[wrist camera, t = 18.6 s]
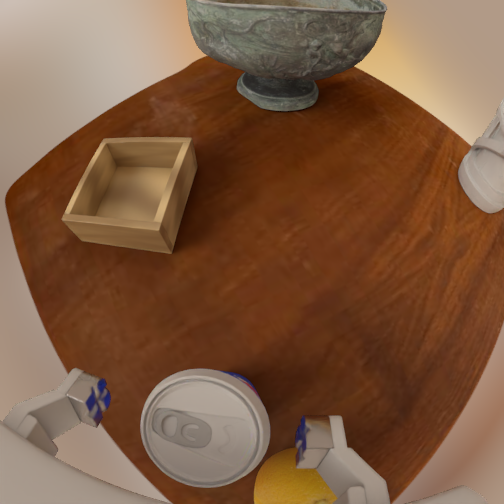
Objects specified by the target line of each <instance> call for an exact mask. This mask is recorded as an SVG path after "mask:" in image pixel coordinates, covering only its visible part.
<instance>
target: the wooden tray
mask: <svg viewBox="0 0 504 504" xmlns="http://www.w3.org/2000/svg"><path fill="white" fill-rule="evenodd" d="M197 167H198V165H197V161H196V156H195V151H194V146H193V141H192V138H179V137H134V138H108V139H103V141H102V142H101V144H100V146H99V148H98V149H97V151H96V153H95V155H94V156H93V158H92V160H91V162H90V163H89V165H88V167H87V169H86V171H85V173H84V174H83V176H82V178H81V180H80V182H79V184H78V186H77V188H76V190H75V192H74V194H73V196H72V198H71V200H70V202H69V205H68V207H67V209H66V211H65V214H64V215H63V218H62V221H63V222H64V223H65V224H66V225H67V226H68V227H69V228H70V229H71V230H72V231H73V232H74V233H75V234H76V235H77V236H78V237H79V238H80V239H81V240H82V241H86V242H93V243H99V244H106V245H113V246H120V247H127V248H134V249H141V250H148V251H155V252H162V253H170V254H172V251H173V248H174V244H175V240H176V236H177V233H178V229H179V226H180V222H181V219H182V215H183V212H184V209H185V205H186V202H187V199H188V195H189V192H190V189H191V186H192V183H193V180H194V176H195V173H196V170H197Z"/></svg>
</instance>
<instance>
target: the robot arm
mask: <svg viewBox="0 0 504 504" xmlns="http://www.w3.org/2000/svg"><path fill="white" fill-rule="evenodd" d="M106 385H107V383H106V381H105V379H103V378H101V377H98V376H95V375H93V374H90V373H87V372H85V371H82V370H80V369H77V368H74V369H72V371H71V372H70V373H69V374H68V376H67V377H66V378H65V379H64V381H63V382H62V384H61V385H60V386H59V387H58V389H57V390H51V391H49V392H47V393H44V394H41V395H39V396H36V397H34V398H31V399H28V400H26V401H23V402H21V403H18V404H16V405H15V406H14V407H13V408H12V410H11V411H10V412H9V414H8V415H7V416H6V418H5V419H4V420H3V421H0V504H171V503H167V502H163V501H160V500H156V499H153V498H149V497H146V496H143V495H140V494H137V493H134V492H131V491H128V490H125V489H122V488H120V487H118V486H114V485H112V484H110V483H107V482H105V481H103V480H100V479H98V478H96V477H93V476H91V475H89V474H87V473H85V472H83V471H81V470H79V469H76V468H75V467H73V466H71V465H69V464H67V463H65V462H63V461H61V460H59V459H58V458H56V457H55V455H56V453H57V452H58V448H57V446H56V445H55V444H54V442H53V441H52V440H53V439H55V438H56V437H58V436H60V435H61V434H63V433H65V432H66V431H68V430H70V429H71V428H73V427H75V426H76V425H78V424H80V423H81V422H83V423H86V424H88V425H91V426H93V427H96V428H97V426H98V425H99V423H100V421H101V420H102V418H103V416H102V412H104V411H106V410H107V409H108V407H109V405H110V400H111V396H110V392H109V390H108V389H107V388H106ZM295 447H296V448H297V449H298V451H297V453H296V455H295V456H296V468H299V469H316V470H317V471H318V473H319V474H320V476H321V477H322V478H323V480H324V481H325V482H326V484H327V485H328V486H329V488H330V489H331V490H332V492H333V493H334V494H335V495H336V497H337V498H338V499H337V500H335V501H334V502H333V503H332V504H390V500H389V494H388V489H387V485H386V481H385V480H384V479H383V478H382V477H381V476H380V475H379V474H377V473H376V472H375V471H374V470H373V469H372V468H371V467H370V466H369V465H368V464H367V463H366V462H365V461H364V460H363V459H362V458H361V457H360V456H359V455H358V454H357V453H356V452H355V451H354V450H353V449H352V448H347V442H346V437H345V431H344V426H343V421H342V417H341V416H327V415H303V416H302V419H301V425H300V426H298V429H297V432H296V437H295ZM405 504H488V503H487V500H486V499H485V498H484V497H483V496H482V495H480V494H479V493H477V492H476V491H474V490H472V489H471V488H469V487H467V486H464V485H461V486H457V487H455V488H452V489H450V490H447V491H444V492H441V493H438V494H436V495H433V496H429V497H426V498H423V499H420V500H416V501H413V502H409V503H405Z"/></svg>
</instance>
